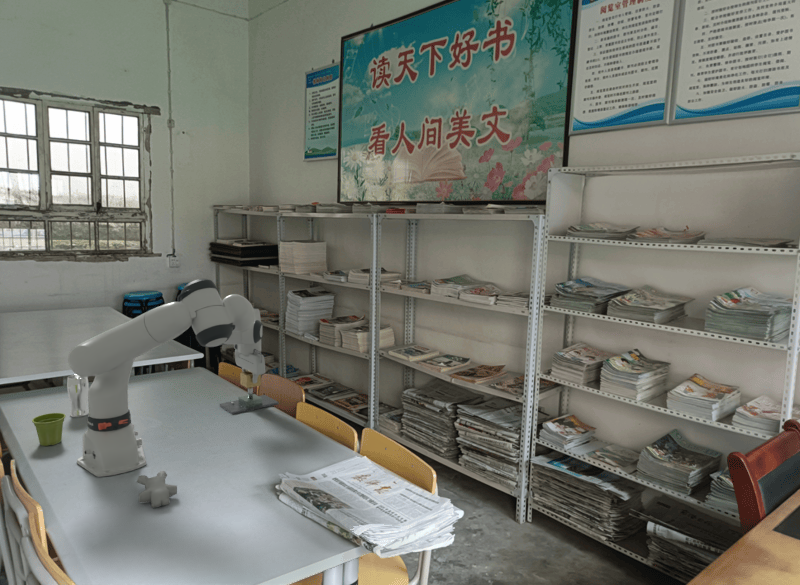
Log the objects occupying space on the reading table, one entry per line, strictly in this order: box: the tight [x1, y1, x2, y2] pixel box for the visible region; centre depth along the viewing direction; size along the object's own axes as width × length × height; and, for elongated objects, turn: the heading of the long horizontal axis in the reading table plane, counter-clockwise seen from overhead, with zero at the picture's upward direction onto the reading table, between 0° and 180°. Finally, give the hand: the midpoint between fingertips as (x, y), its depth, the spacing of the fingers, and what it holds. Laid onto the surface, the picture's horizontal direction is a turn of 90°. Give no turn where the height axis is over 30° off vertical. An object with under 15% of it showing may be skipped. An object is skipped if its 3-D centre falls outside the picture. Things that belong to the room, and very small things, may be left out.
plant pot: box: [31, 412, 66, 447], centre depth 185 cm, size 9×9×9 cm
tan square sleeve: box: [239, 371, 262, 389], centre depth 224 cm, size 6×6×5 cm
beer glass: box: [66, 373, 90, 418], centre depth 211 cm, size 7×7×15 cm
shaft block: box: [219, 387, 280, 415], centre depth 226 cm, size 12×20×8 cm, turn 130°
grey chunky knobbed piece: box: [136, 470, 178, 509], centre depth 151 cm, size 10×5×15 cm
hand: (250, 380), depth 224 cm, fingers closed on tan square sleeve, 6 cm apart
